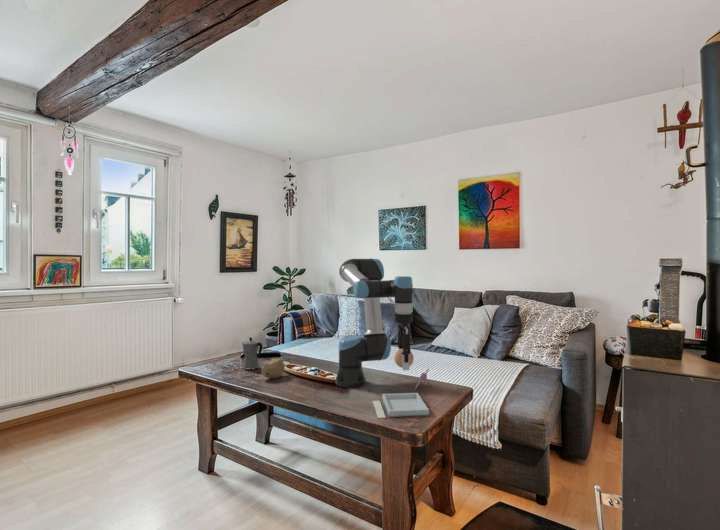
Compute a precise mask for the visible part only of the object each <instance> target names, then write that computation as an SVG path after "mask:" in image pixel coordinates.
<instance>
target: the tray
mask: <svg viewBox="0 0 720 530" xmlns="http://www.w3.org/2000/svg"><path fill="white" fill-rule="evenodd" d="M381 400H382V402H383V405H384V407H385V410H386V412H387V415H388V417H391V418H393V417H396V418H397V417H423V416H425V417H426V416H430V408H428V406H427V405H426V403H425V402H424V400H423V399H422V397H421V396H420V394H419V393H418V392H401V393H400V392H399V393H382V394H381Z"/></svg>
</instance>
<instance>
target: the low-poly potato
mask: <svg viewBox="0 0 720 530" xmlns="http://www.w3.org/2000/svg"><path fill="white" fill-rule="evenodd" d="M285 365H286V364H285V363H284V361H283V360H282V358H280V357H279V358H278V357H277V358H276V357H275V358H271V359H270V361H269V363H268V364H265V365H262V367H261V370H260V371H261V372H260V373H261V375H262V377H265V378H267V379H271V378H274V379H277V378H276V377H279V378H280V377H282V375H283V374H284V372H285V368H286V366H285Z"/></svg>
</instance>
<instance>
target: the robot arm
mask: <svg viewBox="0 0 720 530" xmlns="http://www.w3.org/2000/svg"><path fill="white" fill-rule="evenodd" d="M338 272H339V276H340V278H341V280H343V281H344V282H347V283H349V284H350V285H351V286H352V287H353V288H352V289H353V295H354V297H355V298H356V299H363V307H364V319H365V330H366V331H365V333H364V334H363V337H362V336H361V335H359V334H358V335H349V336H344V337H342V338H340V340H339V342H338V349H337V350H338V369H337V370H338V371H337V373H336V377H335V385H336V386H339V387H342V388H359V387H361V386H364V385H365V384H366V377H365V373H364V370H363V362H374V361H378V362H379V361H383V360H387V359H388V358H389V357H390V354H391V350H392V341H391V339H390V336H387V333H386V332H385V331H384V329H383V318H382V311H381V310H382V309H381V308H382V307H381V298H394V305H393V306H392V308H394V312H395V313H394V323H396V324H397V347H398V350H399V349H403V353H401V354H402V357H403V368H402V371H410V366H409V354H410V353H411V352H412V351H411V335H410V334H411V330H410V327H409V325H408V324H411V323H413V321H414V320H413V318H414V317H413V316H414V315H413V311H414V310H413V306H414V305H413V277H411V276H409V275H408V276H404V275H403V276H399V275H398V276H395V277H394V279H389V280H383V279H384V277H385V269H384V264H383V263H382V261H381V260H380V259H378V258H350V259H347V260H345V261H344V262H343V263H342V264H341V265H340V267H339V271H338ZM406 350H408V351H406ZM410 351H411V352H410Z"/></svg>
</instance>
